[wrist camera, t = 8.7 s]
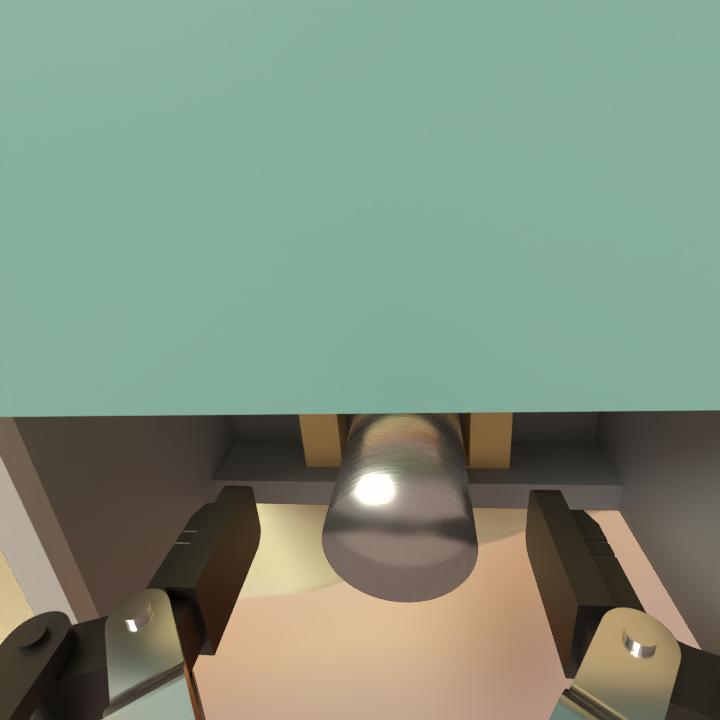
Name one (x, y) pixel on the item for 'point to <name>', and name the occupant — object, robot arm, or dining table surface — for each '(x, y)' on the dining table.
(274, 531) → the dining table surface
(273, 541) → the dining table surface
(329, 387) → the lid
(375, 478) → the pin
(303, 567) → the dining table surface
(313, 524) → the dining table surface
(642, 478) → the housing
